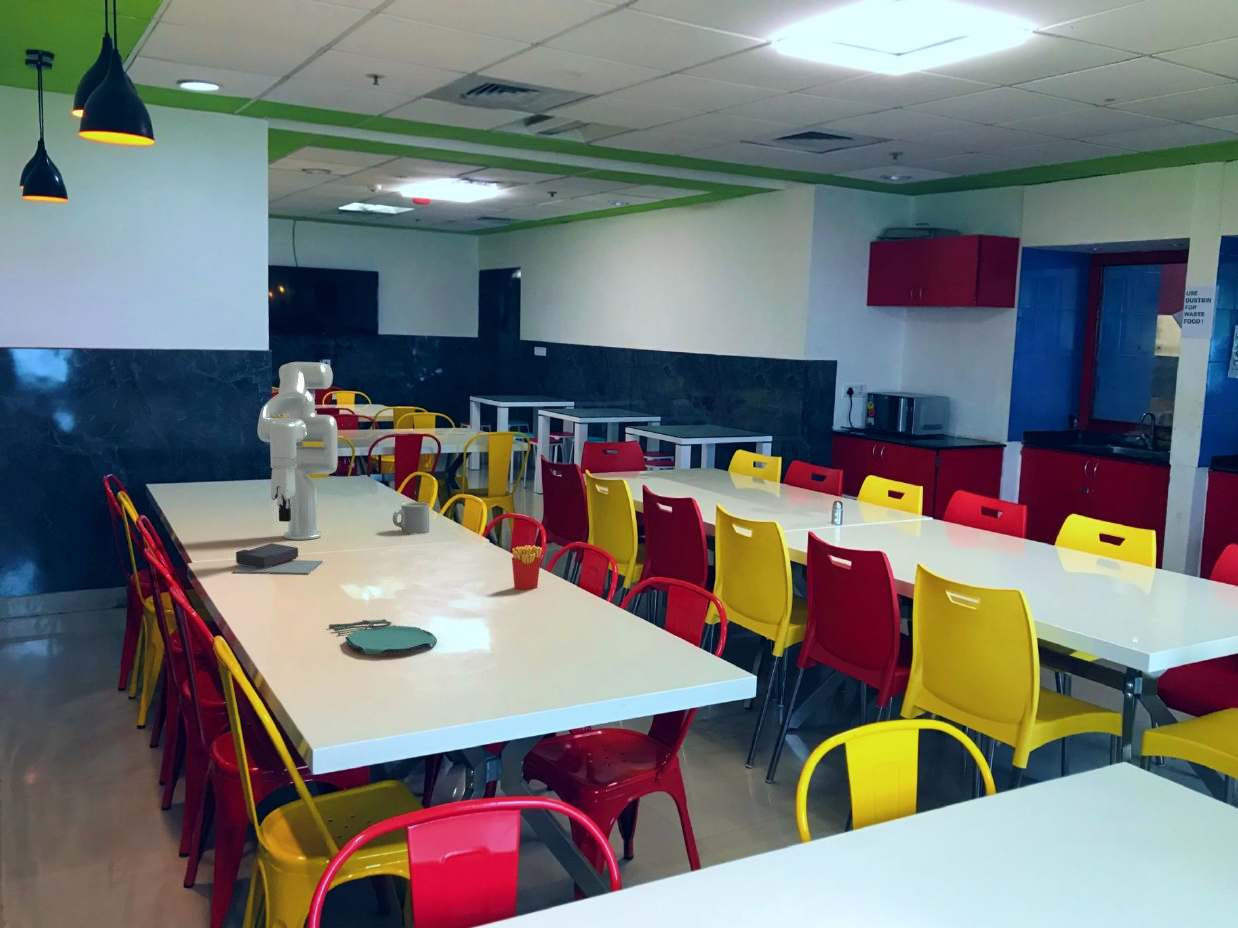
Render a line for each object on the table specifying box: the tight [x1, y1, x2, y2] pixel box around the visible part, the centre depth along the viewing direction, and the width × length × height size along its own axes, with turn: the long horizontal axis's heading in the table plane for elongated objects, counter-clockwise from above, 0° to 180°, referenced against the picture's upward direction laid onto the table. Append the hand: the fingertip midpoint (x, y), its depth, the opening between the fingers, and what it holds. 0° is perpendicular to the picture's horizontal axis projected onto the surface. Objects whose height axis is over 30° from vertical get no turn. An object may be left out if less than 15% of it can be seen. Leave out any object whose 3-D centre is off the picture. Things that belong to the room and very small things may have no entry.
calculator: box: [235, 543, 299, 569], centre depth 309 cm, size 11×4×15 cm
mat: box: [232, 559, 323, 575], centre depth 305 cm, size 16×22×1 cm
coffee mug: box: [392, 501, 430, 534], centre depth 364 cm, size 13×10×10 cm
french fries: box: [511, 544, 543, 591], centre depth 288 cm, size 8×4×12 cm, turn 111°
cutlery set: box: [328, 618, 438, 655], centre depth 238 cm, size 20×30×2 cm, turn 35°
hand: (285, 520), depth 311 cm, fingers closed
